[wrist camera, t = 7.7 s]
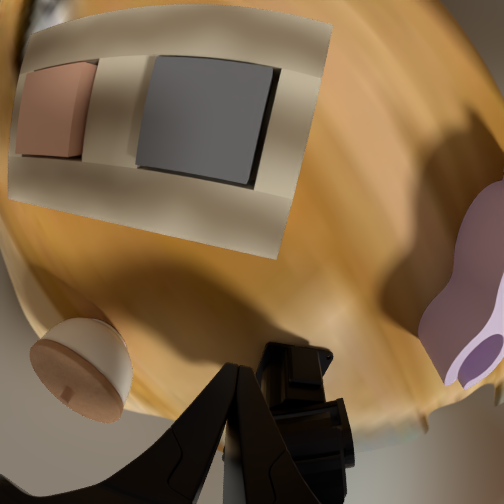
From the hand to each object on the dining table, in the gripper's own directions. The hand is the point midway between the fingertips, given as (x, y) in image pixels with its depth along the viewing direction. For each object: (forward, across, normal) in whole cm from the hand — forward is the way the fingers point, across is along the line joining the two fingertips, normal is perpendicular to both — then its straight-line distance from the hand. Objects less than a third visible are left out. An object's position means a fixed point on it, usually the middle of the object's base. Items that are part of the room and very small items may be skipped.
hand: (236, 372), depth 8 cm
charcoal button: (+11, +4, -8) cm, 14 cm away
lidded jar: (+13, +14, +15) cm, 24 cm away
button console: (+12, +10, -8) cm, 18 cm away
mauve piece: (+13, -22, -3) cm, 26 cm away
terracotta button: (+11, +15, -8) cm, 20 cm away
